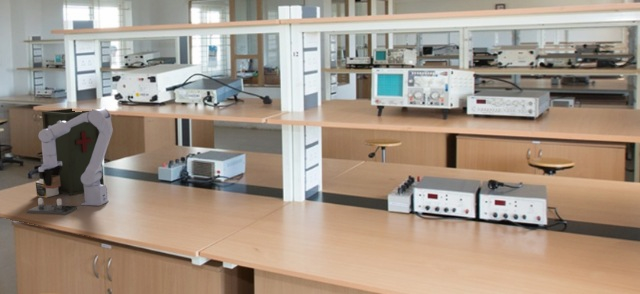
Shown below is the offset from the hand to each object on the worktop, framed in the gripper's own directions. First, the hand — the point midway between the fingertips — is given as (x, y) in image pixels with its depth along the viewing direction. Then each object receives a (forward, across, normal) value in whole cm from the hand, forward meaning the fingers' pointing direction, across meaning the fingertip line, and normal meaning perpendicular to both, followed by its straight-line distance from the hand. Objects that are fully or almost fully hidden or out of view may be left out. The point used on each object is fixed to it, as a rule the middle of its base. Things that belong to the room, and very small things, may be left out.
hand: (52, 184), depth 258 cm
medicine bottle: (+9, -13, -12) cm, 20 cm away
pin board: (+9, +11, +7) cm, 16 cm away
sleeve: (+1, 0, 0) cm, 1 cm away
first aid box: (+9, -26, -5) cm, 28 cm away
